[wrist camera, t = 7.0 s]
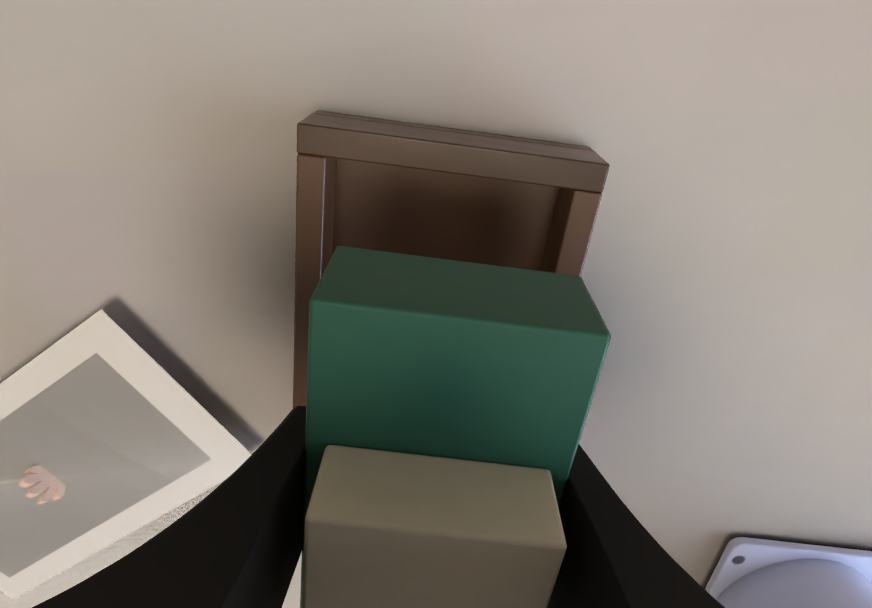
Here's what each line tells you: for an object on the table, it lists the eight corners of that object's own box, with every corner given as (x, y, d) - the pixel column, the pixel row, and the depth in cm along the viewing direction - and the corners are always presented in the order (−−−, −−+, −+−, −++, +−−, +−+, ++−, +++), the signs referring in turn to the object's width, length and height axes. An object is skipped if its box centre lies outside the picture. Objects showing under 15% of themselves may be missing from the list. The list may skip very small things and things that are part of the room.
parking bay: (516, 452, 23) (523, 497, 21) (306, 428, 22) (291, 471, 20) (590, 146, 17) (610, 164, 15) (316, 109, 17) (297, 122, 15)
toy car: (500, 546, 16) (520, 755, 12) (326, 528, 16) (277, 732, 12) (573, 258, 12) (647, 401, 8) (344, 228, 12) (278, 357, 8)
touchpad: (266, 442, 23) (249, 481, 21) (29, 578, 27) (-4, 622, 25) (117, 295, 20) (82, 324, 18) (-123, 472, 24) (-173, 512, 22)
